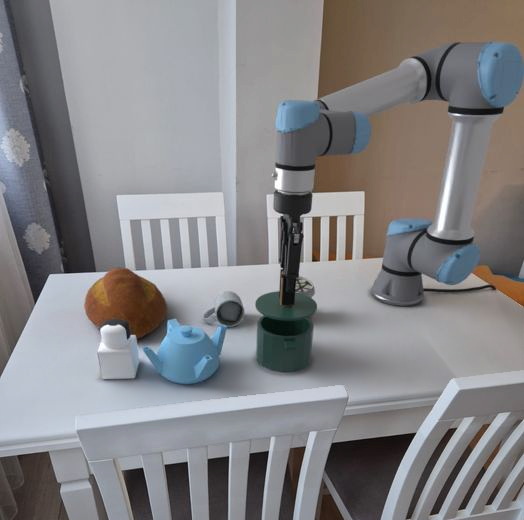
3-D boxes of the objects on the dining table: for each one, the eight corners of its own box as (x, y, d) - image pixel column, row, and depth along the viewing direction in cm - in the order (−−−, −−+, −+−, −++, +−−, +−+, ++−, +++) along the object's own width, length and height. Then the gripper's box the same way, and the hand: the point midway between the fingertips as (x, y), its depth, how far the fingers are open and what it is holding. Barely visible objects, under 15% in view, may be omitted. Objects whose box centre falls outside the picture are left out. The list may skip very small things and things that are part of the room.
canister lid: (309, 295, 112) (313, 259, 107) (322, 322, 100) (326, 284, 96) (252, 296, 110) (253, 260, 106) (258, 324, 99) (259, 285, 94)
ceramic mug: (241, 312, 132) (240, 286, 128) (244, 326, 125) (244, 299, 121) (202, 314, 130) (201, 289, 126) (204, 329, 124) (203, 302, 120)
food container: (309, 330, 124) (312, 295, 119) (286, 327, 125) (288, 293, 120) (314, 310, 135) (317, 277, 129) (293, 307, 136) (295, 274, 130)
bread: (89, 351, 113) (80, 304, 106) (84, 295, 139) (77, 254, 132) (177, 338, 119) (173, 293, 112) (157, 286, 145) (153, 247, 139)
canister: (302, 339, 120) (305, 305, 115) (317, 379, 105) (321, 343, 100) (252, 340, 119) (253, 306, 114) (261, 382, 104) (262, 345, 99)
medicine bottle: (108, 361, 109) (100, 315, 103) (139, 361, 110) (133, 315, 103) (101, 379, 103) (92, 331, 97) (135, 379, 103) (128, 331, 97)
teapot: (231, 356, 112) (230, 316, 107) (212, 393, 100) (210, 350, 94) (170, 348, 115) (166, 308, 109) (144, 383, 102) (138, 340, 97)
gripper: (269, 181, 98) (265, 286, 110) (280, 201, 85) (274, 317, 97) (304, 181, 99) (297, 285, 111) (321, 201, 86) (310, 317, 98)
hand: (286, 300), depth 104 cm, fingers closed on canister lid, 3 cm apart
